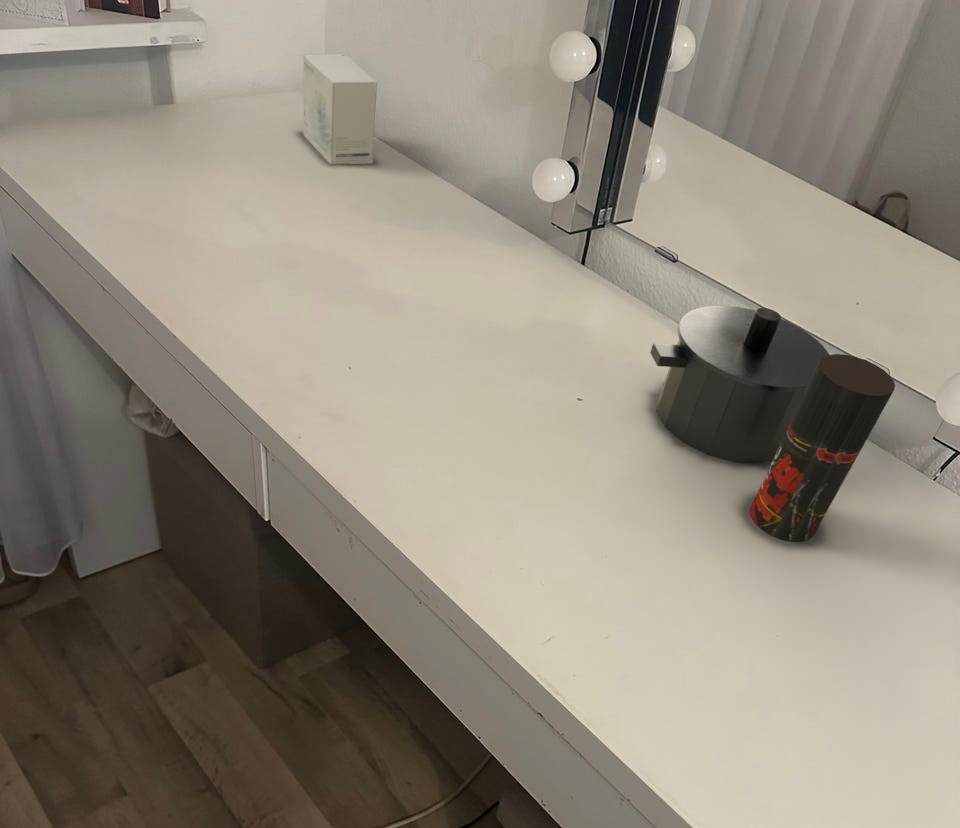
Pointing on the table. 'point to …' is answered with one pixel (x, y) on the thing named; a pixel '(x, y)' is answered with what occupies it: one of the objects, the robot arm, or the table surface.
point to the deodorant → (820, 446)
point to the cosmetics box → (339, 108)
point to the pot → (721, 410)
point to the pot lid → (751, 347)
